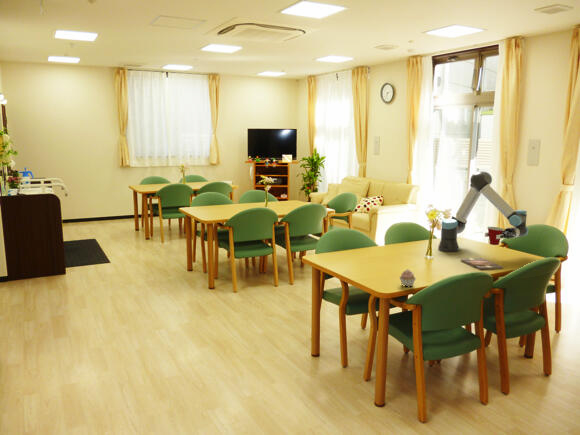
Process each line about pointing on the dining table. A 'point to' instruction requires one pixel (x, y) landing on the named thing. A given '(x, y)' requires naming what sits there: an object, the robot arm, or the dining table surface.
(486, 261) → the book
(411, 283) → the cupcake
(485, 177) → the robot arm
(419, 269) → the dining table surface
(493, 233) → the plastic cup
